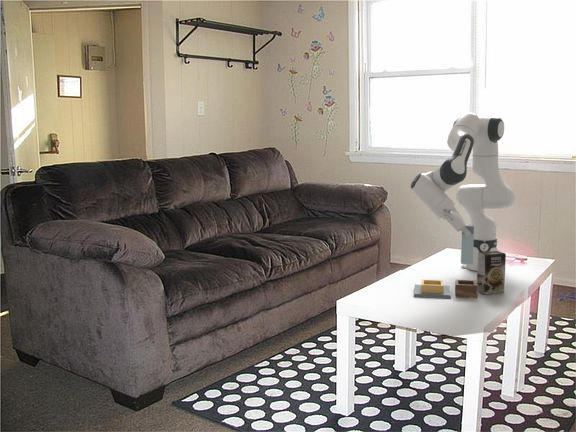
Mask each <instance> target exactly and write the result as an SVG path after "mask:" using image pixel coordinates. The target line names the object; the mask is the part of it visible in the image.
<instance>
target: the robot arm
mask: <svg viewBox="0 0 576 432" xmlns="http://www.w3.org/2000/svg"><path fill="white" fill-rule="evenodd" d="M504 133H505V123H504V121H503V119H502V118H501V117H498V116H494V115H493V116H488V115H487V116H486V115H477V114H476V113H474V112H465V113H462V115H460V117H458V118H456V119H455V121H454V122H453V125H452V127H451V129H450V131H449V134H448V136H447V141H446V143H447V146H448V148H449V149H450V150H451V151H452V155H451V156H450V157H448V158H447V159H445V161H444V162H442V163H441V164H440V165H439V166H438V167H437V168H435V169H434V170H432V171H429V172H424V173H423V172H420V173H419V174H417V175H416V176H415V178H414V179H413V180H412V181H411V184H410V189H411V191H412V194H414V195H415V197H416V198H417V199H418V200H419V201H420V202H421V203H422V204H424V205H426V207H427V209H428V210H429V211H430V212H431V213H432V214H433V215H434V216H435V217H436V218H437V219H438V220H440V219H441V218H442V219H443V220H445V221H446V222H447V223H448V224H449V225H450V226H451V227H452V228H453V229H454V230H455V231H456V232H460V231H462V232H464V233H465V234H466V235H467V236H469V235H470V234H471V232H470V231H469V230H468V229H467V228H466V227H465V225H464V224H466V223H465V221H464V218H463V216H462V214H461V213H460V212H459V211H458V210H457V208H456V207H455V205H456V203H455V201H454V200H453V199H452V198H451V197H450V196H448V194H446V192H447V191H449V190H451V189H452V188H454V186H456V185H458V184H459V183H461V182H463V181H464V180H465V179H466V177H467V174H468V173H467V172H468V170H467V168H468V166H467V165H468V161H469V159H470V156H471V154H472V172H473V173H474V175H476V176H477V177H479V178H481V179H482V180H483V181H484V184H477V183H475V184H474V183H473V184H472V183H469V184H464V185H460V186H459V187H458V189H457V190H456V193H455V194H456V195H455V199H456V201H457V204H458V206H460V207H461V208H463V210H464V211H465V212H466V213H467V215H468V218H469V220H470V224H473V225H474V242H473V264H461V268H462V269H467V270H471V271H476V272H477V270H478V252H490V251H498V252H501V251H500V250H499V249H498V247H497V246H498V239H497V221H496V220H495V219H494V218H493V217H491V216H489V215H487V214H486V213H485V211H484V209H486V210H505V209H510V208H511V207H512V206H513V204H514V203H515V198H516V197H515V196H516V195H515V192H514V190H513V188H511V187H510V186H509V185H508V184H507V183H506V182H505V181H504V180H503V178H502V176H501V174H500V168H499V144H498V141H500V140H501V139H502V138H503V136H504Z"/></svg>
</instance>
